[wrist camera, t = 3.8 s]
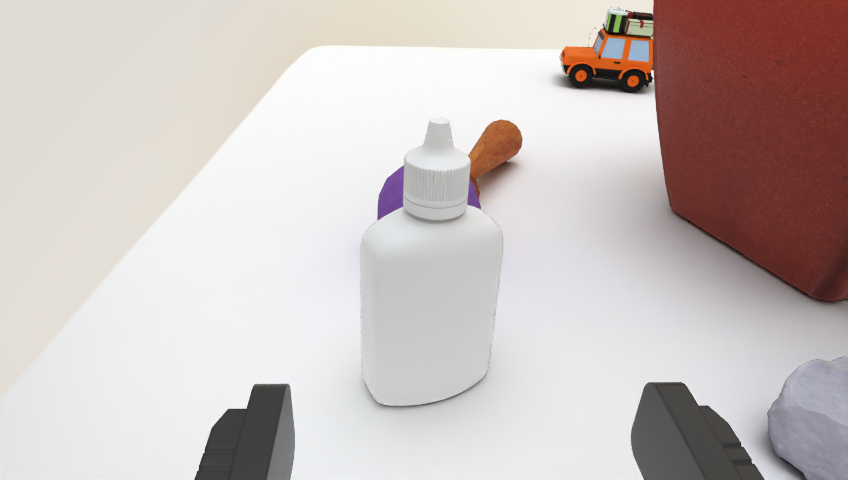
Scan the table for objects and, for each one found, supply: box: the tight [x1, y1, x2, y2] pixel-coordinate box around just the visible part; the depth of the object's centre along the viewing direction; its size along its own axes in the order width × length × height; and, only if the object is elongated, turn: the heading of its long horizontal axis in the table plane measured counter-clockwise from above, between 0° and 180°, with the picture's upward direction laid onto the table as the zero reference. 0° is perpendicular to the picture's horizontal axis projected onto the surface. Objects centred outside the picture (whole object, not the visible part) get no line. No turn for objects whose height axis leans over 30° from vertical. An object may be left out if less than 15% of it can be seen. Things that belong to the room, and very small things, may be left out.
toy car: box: [559, 7, 654, 93], centre depth 70 cm, size 7×12×9 cm, turn 85°
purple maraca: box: [378, 120, 522, 220], centre depth 41 cm, size 6×6×20 cm
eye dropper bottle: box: [360, 117, 503, 406], centre depth 24 cm, size 4×6×12 cm
